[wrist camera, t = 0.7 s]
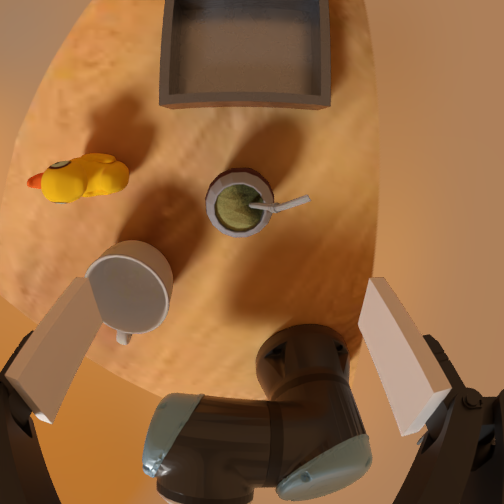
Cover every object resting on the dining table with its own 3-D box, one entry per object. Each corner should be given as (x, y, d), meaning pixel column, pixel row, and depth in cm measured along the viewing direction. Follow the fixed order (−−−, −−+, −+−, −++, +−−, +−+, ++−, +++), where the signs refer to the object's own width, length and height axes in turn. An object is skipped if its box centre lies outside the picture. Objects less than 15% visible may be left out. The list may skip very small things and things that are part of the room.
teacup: (120, 218, 35) (93, 239, 28) (193, 253, 38) (181, 283, 30) (97, 297, 40) (74, 327, 33) (159, 328, 42) (145, 363, 35)
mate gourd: (203, 209, 35) (177, 259, 21) (225, 148, 33) (210, 158, 19) (260, 229, 36) (270, 291, 23) (285, 170, 34) (313, 197, 20)
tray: (317, 110, 31) (330, 106, 26) (172, 109, 30) (159, 105, 25) (316, 9, 25) (327, -8, 20) (176, 8, 25) (166, -9, 20)
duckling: (65, 190, 33) (20, 209, 24) (65, 151, 31) (19, 161, 22) (136, 195, 34) (102, 218, 25) (139, 153, 32) (103, 161, 23)
